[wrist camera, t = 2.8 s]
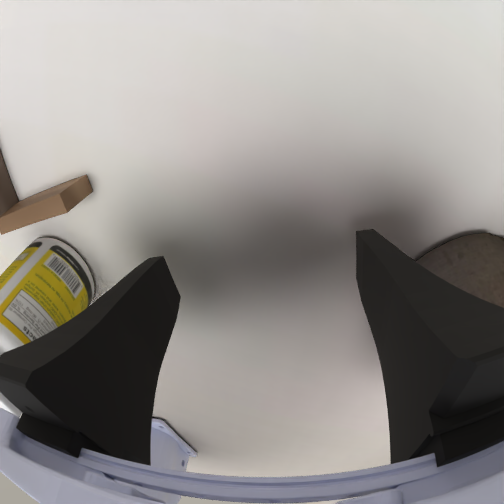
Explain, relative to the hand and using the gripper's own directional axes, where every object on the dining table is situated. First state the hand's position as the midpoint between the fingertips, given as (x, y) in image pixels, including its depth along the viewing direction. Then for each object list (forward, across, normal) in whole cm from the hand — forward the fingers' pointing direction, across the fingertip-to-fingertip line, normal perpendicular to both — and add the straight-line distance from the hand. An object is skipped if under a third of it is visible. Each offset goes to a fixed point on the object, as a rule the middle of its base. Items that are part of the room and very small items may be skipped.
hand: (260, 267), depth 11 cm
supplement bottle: (+2, +11, 0) cm, 11 cm away
